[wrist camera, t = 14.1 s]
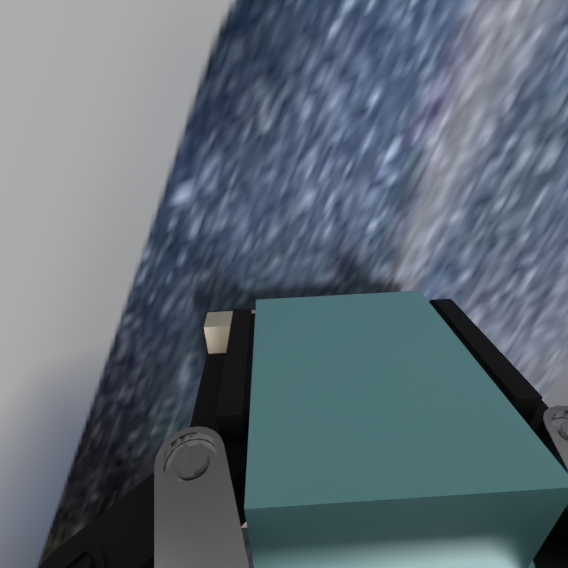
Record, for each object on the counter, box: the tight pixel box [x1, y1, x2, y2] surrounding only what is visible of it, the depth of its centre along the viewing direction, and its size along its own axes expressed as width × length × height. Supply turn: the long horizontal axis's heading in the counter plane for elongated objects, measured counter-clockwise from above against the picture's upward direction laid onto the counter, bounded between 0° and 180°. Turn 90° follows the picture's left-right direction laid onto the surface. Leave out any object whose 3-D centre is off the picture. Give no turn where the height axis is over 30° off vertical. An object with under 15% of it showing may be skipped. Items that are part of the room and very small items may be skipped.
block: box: [244, 291, 568, 568], centre depth 9 cm, size 6×5×5 cm
